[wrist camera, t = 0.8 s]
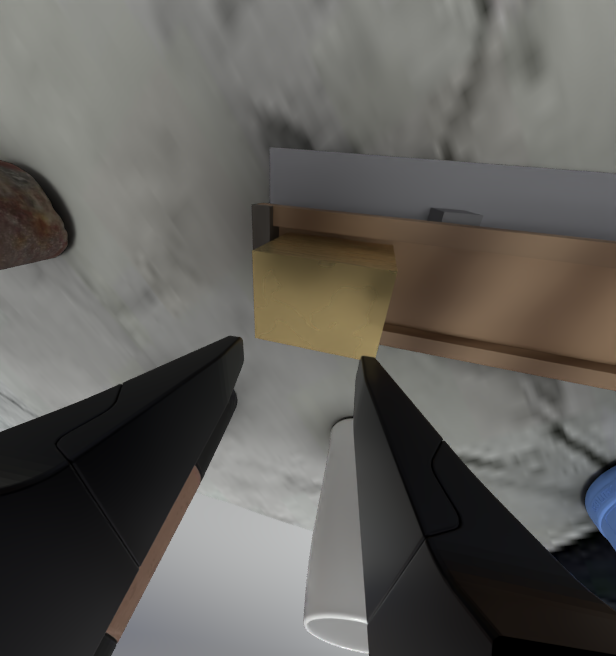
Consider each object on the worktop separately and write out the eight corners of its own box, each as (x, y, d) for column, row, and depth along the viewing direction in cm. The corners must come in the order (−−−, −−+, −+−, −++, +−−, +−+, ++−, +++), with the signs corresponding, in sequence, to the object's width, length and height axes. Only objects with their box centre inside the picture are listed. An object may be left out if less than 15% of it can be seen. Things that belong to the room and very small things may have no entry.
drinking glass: (314, 418, 29) (281, 613, 16) (372, 404, 26) (391, 619, 13) (339, 456, 31) (329, 650, 18) (395, 446, 29) (428, 661, 16)
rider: (393, 245, 14) (397, 271, 10) (376, 316, 16) (374, 362, 12) (288, 232, 15) (252, 250, 11) (286, 300, 17) (255, 337, 13)
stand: (669, 178, 14) (755, 178, 11) (545, 361, 21) (578, 392, 18) (273, 148, 17) (254, 140, 14) (272, 322, 23) (259, 344, 20)
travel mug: (194, 419, 32) (8, 697, 15) (163, 371, 28) (-125, 659, 11) (249, 416, 30) (110, 730, 13) (223, 363, 27) (-14, 696, 9)
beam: (725, 250, 12) (801, 265, 10) (617, 373, 15) (655, 403, 13) (269, 202, 16) (251, 204, 13) (269, 308, 19) (255, 324, 17)
